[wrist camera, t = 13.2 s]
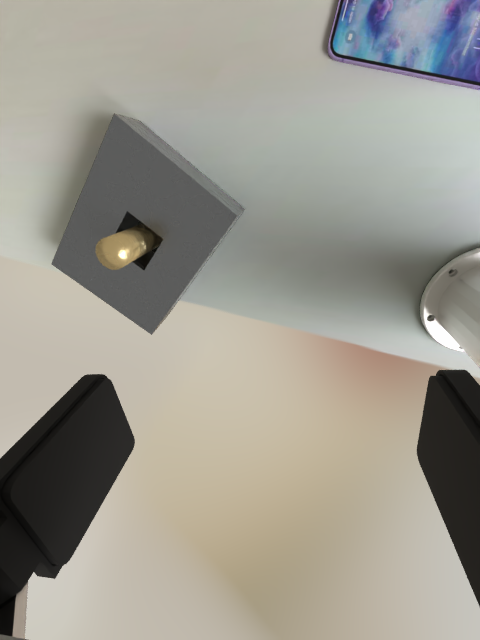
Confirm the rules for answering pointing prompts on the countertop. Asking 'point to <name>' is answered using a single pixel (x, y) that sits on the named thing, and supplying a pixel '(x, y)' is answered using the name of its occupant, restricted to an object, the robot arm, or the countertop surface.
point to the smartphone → (411, 38)
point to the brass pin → (126, 246)
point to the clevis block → (144, 222)
